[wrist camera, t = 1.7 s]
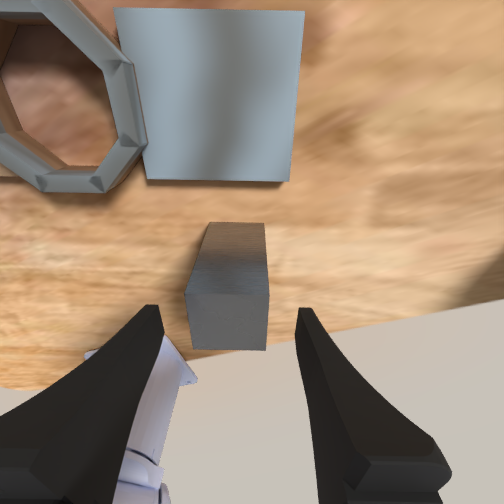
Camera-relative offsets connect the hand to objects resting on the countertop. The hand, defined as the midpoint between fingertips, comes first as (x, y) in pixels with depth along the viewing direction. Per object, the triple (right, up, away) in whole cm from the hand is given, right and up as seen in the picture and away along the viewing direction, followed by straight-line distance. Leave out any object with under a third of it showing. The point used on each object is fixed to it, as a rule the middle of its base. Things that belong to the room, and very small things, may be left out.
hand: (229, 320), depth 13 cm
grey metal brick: (0, +4, +7) cm, 8 cm away
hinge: (-9, +12, +2) cm, 15 cm away
